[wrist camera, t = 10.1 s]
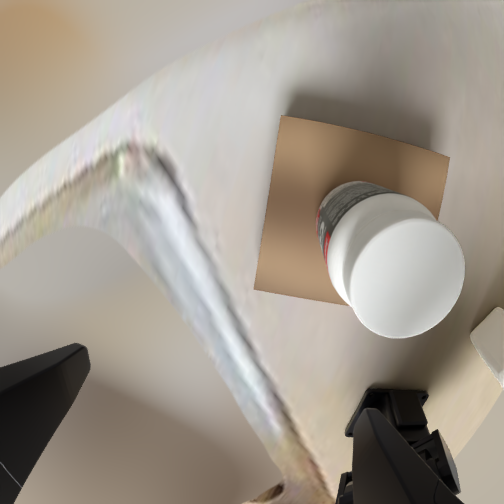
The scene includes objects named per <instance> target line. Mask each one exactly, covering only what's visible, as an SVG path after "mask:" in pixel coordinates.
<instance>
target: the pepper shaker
mask: <svg viewBox="0 0 504 504" xmlns="http://www.w3.org/2000/svg"><path fill="white" fill-rule="evenodd" d="M470 339H471V342H472V344H473V345H474V347H475V349H476V350H477V352H478V353H479V355H480V356H481V358H482V359H483V361H484V362H485V363H486V365H487V366H488V367H489V369H490V370H491V372H492V373H493V375H494V376H495V377H496V379H497V380H498V382H499V383H500V385H501V386H502V388H503V389H504V310H503V309H502V308H500V307H497V308H495V309H494V310H493V311H492V312H491V313H490V314H489V315H488V316H487V317H486V318H485V319H484V320H483V321H482V322H481V323H480V324H479V325H478V326H477V327H476V328H475V329H474V330H473V331H472V332H471V334H470Z"/></svg>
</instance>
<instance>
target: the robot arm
mask: <svg viewBox="0 0 504 504" xmlns="http://www.w3.org/2000/svg"><path fill="white" fill-rule="evenodd" d="M89 371H90V360H89V355H88V350H87V348H86V347H85V346H84V345H81V344H79V343H74V344H70V345H67V346H64V347H62V348H59V349H56V350H53V351H50V352H47V353H44V354H41V355H38V356H35V357H31V358H29V359H26V360H22V361H19V362H16V363H13V364H10V365H7V366H4V367H0V504H14V502H15V500H16V498H17V496H18V494H19V492H20V491H21V489H22V488H21V487H23V485H24V483H25V482H26V479H27V478H28V476H29V474H30V473H31V471H32V469H33V468H34V466H35V464H36V462H37V461H38V459H39V457H40V456H41V454H42V452H43V451H44V449H45V447H46V446H47V444H48V442H49V441H50V439H51V437H52V436H53V434H54V433H55V431H56V429H57V428H58V426H59V425H60V423H61V422H62V420H63V418H64V417H65V415H66V414H67V412H68V411H69V409H70V407H71V406H72V404H73V402H74V400H75V399H76V397H77V395H78V392H79V390H80V389H81V387H82V385H83V383H84V381H85V379H86V377H87V375H88V373H89ZM372 393H373V394H372ZM370 394H371V395H370ZM428 396H429V395H428V392H427V391H415V390H390V389H374V388H372V389H368V390H367V391H366V392H365V394H364V396H363V398H362V400H361V402H360V404H359V406H358V408H357V410H356V412H355V414H354V416H353V417H352V419H351V421H350V423H349V425H348V427H347V428H346V430H345V436H346V437H353V460H352V471H351V472H345V473H343V474H341V479H340V484H339V489H338V494H337V499H336V503H335V504H464V503H463V502H462V501H461V500H460V499H458V498H457V497H456V496H455V495H457V494H459V493H460V492H461V490H460V484H459V479H458V474H457V469H456V466H455V463H454V460H453V458H452V455H451V453H450V450H449V448H448V446H447V444H446V443H445V441H444V439H443V437H442V436H441V434H440V432H439V430H438V429H437V430H435V431H433V432H432V434H430V433H429V430H428V427H427V423H428V421H427V419H426V416H425V414H424V411H423V408H422V406H423V405H424V403H425V402H426V400H427V398H428Z"/></svg>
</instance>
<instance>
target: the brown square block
mask: <svg viewBox="0 0 504 504" xmlns="http://www.w3.org/2000/svg"><path fill="white" fill-rule="evenodd" d="M449 160H450V157H447V156H444V155H441V154H439V153H436V152H433V151H430V150H427V149H424V148H420V147H417V146H414V145H411V144H408V143H404V142H401V141H397V140H394V139H390V138H387V137H383V136H379V135H375V134H372V133H368V132H364V131H359V130H355V129H351V128H346V127H342V126H337V125H333V124H328V123H323V122H317V121H312V120H307V119H301V118H295V117H289V116H282V115H281V118H280V125H279V131H278V138H277V144H276V151H275V157H274V164H273V170H272V177H271V183H270V190H269V196H268V202H267V209H266V215H265V221H264V228H263V234H262V240H261V247H260V253H259V259H258V265H257V271H256V278H255V284H254V290H260V291H265V292H270V293H276V294H281V295H287V296H293V297H298V298H304V299H310V300H316V301H322V302H328V303H334V304H340V305H346V306H350V305H348V304H347V303H346V302H345V301H344V300H343V299H342V298H341V296H340V295H339V294H338V292H337V291H336V289H335V288H334V286H333V284H332V282H331V280H330V277H329V274H328V270H327V267H326V263H325V259H324V256H323V253H322V250H321V246H320V243H319V240H318V237H317V232H316V218H317V213H318V210H319V207H320V205H321V203H322V201H323V200H324V198H325V197H326V196H327V195H328V194H329V193H330V192H331V191H332V190H333V189H335V188H336V187H338V186H340V185H342V184H345V183H348V182H352V181H366V182H370V183H373V184H376V185H379V186H382V187H384V188H387V189H390V190H393V191H395V192H398V193H401V194H403V195H406V196H409V197H411V198H413V199H415V200H416V201H418V202H419V203H421V204H422V205H424V206H425V207H426V208H427V209H428V210H429V211H430V212H431V213H432V215H433V216H434V217H435V219H436V220H437V221H438V216H439V212H440V208H441V203H442V198H443V193H444V188H445V183H446V178H447V172H448V166H449Z"/></svg>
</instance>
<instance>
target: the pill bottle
mask: <svg viewBox="0 0 504 504" xmlns="http://www.w3.org/2000/svg"><path fill="white" fill-rule="evenodd" d="M316 232H317V237H318V240H319V243H320V246H321V250H322V253H323V256H324V259H325V263H326V267H327V270H328V274H329V277H330V280H331V282H332V284H333V286H334V288H335V289H336V291H337V292H338V294H339V295H340V296H341V298H342V299H343V300H344V301H345V302H346V303H347V304H348V305H350V306H351V307H352V308H353V310H354V312H355V314H356V316H357V317H358V319H359V320H360V321H361V322H362V324H364V325H365V326H366V327H367V328H368V329H369V330H371V331H372V332H374V333H376V334H378V335H381V336H385V337H388V338H408V337H412V336H416V335H419V334H421V333H423V332H425V331H427V330H429V329H431V328H433V327H434V326H435V325H437V324H438V323H439V322H440V321H441V320H442V319H444V318H445V316H446V315H447V314H448V313H449V312H450V310H451V309H452V308H453V306H454V305H455V303H456V301H457V299H458V297H459V295H460V292H461V290H462V285H463V282H464V276H465V261H464V255H463V251H462V248H461V246H460V244H459V242H458V240H457V238H456V237H455V235H454V234H453V233H452V232H451V231H450V230H449V229H448V228H447V227H446V226H445V225H443V224H442V223H440V222H439V221H437V220H436V219H435V217H434V216H433V215H432V213H431V212H430V211H429V210H428V209H427V208H426V207H425V206H424V205H422V204H421V203H419V202H418V201H416V200H415V199H413V198H411V197H409V196H406V195H403V194H401V193H398V192H395V191H393V190H390V189H387V188H384V187H382V186H379V185H376V184H373V183H370V182H366V181H352V182H348V183H345V184H342V185H340V186H338V187H336V188H335V189H333V190H332V191H331V192H330V193H329V194H328V195H327V196H326V197H325V198H324V200H323V201H322V203H321V205H320V207H319V210H318V213H317V218H316Z"/></svg>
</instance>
